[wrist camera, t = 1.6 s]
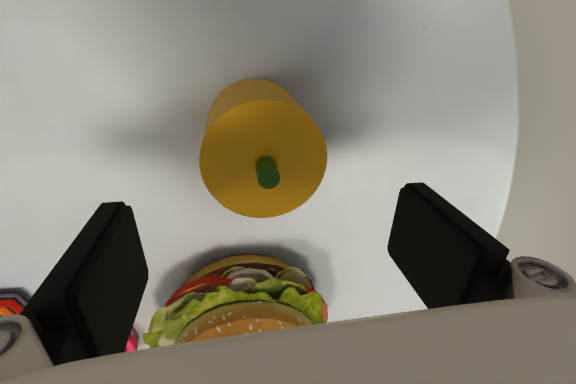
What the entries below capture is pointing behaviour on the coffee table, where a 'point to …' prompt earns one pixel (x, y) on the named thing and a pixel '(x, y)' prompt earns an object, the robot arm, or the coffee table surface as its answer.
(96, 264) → the robot arm
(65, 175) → the coffee table surface
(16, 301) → the fantasy tower
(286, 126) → the yellow stemmed cylinder
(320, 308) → the food
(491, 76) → the coffee table surface
